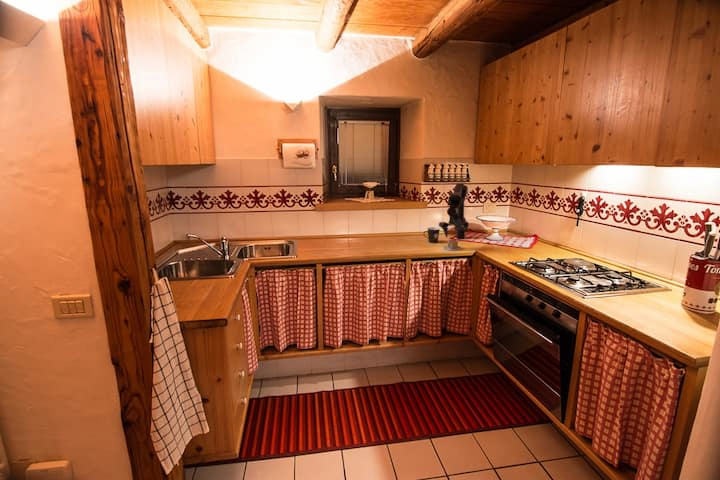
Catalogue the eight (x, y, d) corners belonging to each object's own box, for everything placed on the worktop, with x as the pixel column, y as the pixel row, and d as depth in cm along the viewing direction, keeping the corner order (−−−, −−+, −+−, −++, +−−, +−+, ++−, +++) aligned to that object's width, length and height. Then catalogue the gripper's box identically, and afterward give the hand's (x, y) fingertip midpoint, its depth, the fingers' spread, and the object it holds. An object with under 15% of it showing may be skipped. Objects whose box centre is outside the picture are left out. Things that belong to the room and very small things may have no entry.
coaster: (440, 246, 243) (440, 246, 243) (456, 245, 245) (456, 244, 245) (448, 251, 231) (448, 250, 231) (465, 250, 234) (465, 249, 233)
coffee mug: (438, 240, 259) (439, 227, 257) (439, 243, 251) (440, 229, 249) (422, 240, 261) (422, 227, 258) (423, 243, 252) (423, 229, 250)
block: (447, 246, 240) (448, 239, 239) (453, 246, 241) (453, 239, 240) (451, 249, 235) (452, 241, 233) (457, 248, 235) (457, 241, 234)
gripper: (446, 216, 223) (445, 240, 227) (473, 215, 226) (472, 238, 230) (438, 213, 233) (438, 236, 237) (465, 212, 237) (463, 235, 241)
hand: (453, 236), depth 236 cm, fingers open, 9 cm apart
